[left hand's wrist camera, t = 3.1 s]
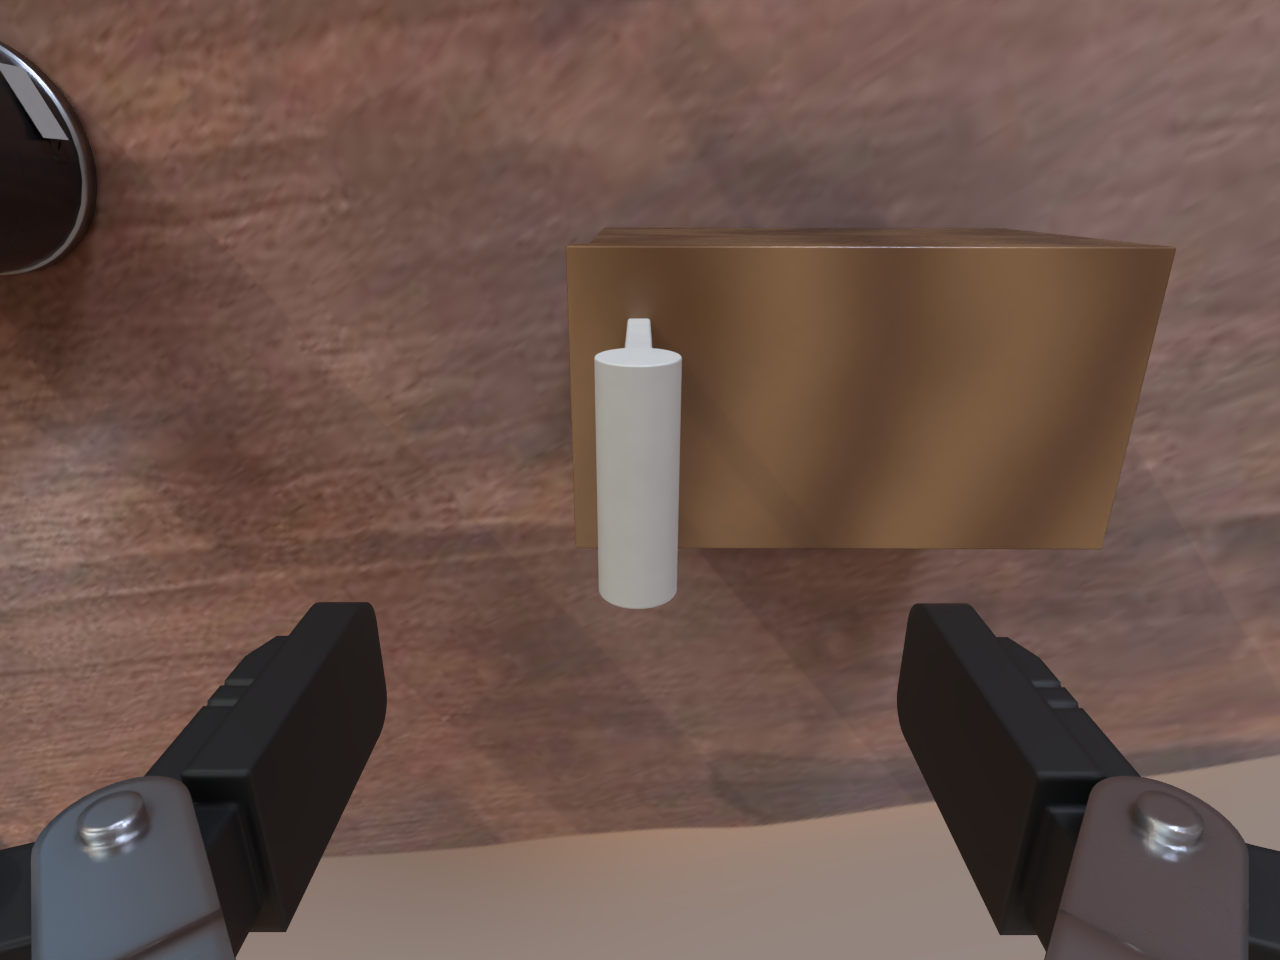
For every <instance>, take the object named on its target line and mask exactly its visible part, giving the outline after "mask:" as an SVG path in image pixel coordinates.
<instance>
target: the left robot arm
mask: <svg viewBox="0 0 1280 960" xmlns="http://www.w3.org/2000/svg"><path fill="white" fill-rule="evenodd" d="M96 194H97V180H96V170H95V163H94V159H93V155H92V151H91V148H90V145H89V141H88V139H87V136H86V134H85V131H84V129H83V127H82V125H81V123H80V121H79V119H78V117H77V115H76V113H75V112H74V110H73V108H72V107H71V105H70V104H69V102H68V101H67V99H66V98H65V97H64V95H63V94H62V92H61V91H60V90H59V89H58V88H57V86H56V85H55V84H54V83H53V82H52V81H51V80H50V78H49V77H48V76H47V75H46V74H45V73H44V72H43V71H42V70H40V69H39V68H38V67H37V66H36V65H35V64H34V63H33V62H31V61H30V60H29V59H27V58H26V57H25V56H23V55H22V54H21V53H19V52H18V51H16V50H15V49H13V48H11V47H10V46H8V45H6V44H4V43H2V42H1V41H0V275H10V274H19V273H26V272H32V271H37V270H40V269H43V268H46V267H49V266H51V265H53V264H55V263H57V262H59V261H60V260H62V259H63V258H65V257H66V256H67V255H68V254H70V253H71V252H72V251H73V250H74V249H75V248H76V246H77V245H78V244H79V243H80V241H81V240H82V239H83V237H84V235H85V233H86V232H87V230H88V228H89V225H90V223H91V220H92V217H93V213H94V210H95V203H96ZM1060 683H1061V682H1060V681H1059V680H1058V679H1057V678H1056V677H1055V675H1054V674H1053V673H1052V672H1051V671H1050V670H1049V668H1048V667H1047V666H1046V665H1045V664H1044V663H1043V661H1042V660H1041V659H1040V658H1039V657H1037V656H1036V655H1034V654H1033V653H1031V652H1030V651H1028V650H1026V649H1025V648H1023V647H1022V646H1020V645H1019V644H1017V643H1016V642H1014V641H1013V640H1011V639H1009V638H1008V637H996V636H995V635H994V634H993V633H992V631H991V630H990V629H989V628H988V626H987V625H986V624H985V623H984V621H983V620H982V619H981V617H980V616H979V615H978V614H977V612H976V611H975V610H974V609H973V608H972V607H971V606H970V605H969V604H915V605H914V606H913V607H912V608H911V611H910V613H909V617H908V623H907V630H906V636H905V643H904V650H903V657H902V663H901V670H900V677H899V684H898V691H897V709H898V717H899V722H900V726H901V729H902V732H903V735H904V737H905V739H906V741H907V743H908V745H909V748H910V750H911V752H912V754H913V756H914V758H915V760H916V762H917V764H918V766H919V768H920V770H921V772H922V774H923V777H924V779H925V781H926V783H927V785H928V787H929V789H930V791H931V793H932V795H933V797H934V799H935V801H936V803H937V806H938V808H939V810H940V812H941V814H942V816H943V818H944V820H945V822H946V824H947V826H948V828H949V830H950V832H951V835H952V837H953V839H954V841H955V843H956V845H957V847H958V849H959V851H960V853H961V855H962V857H963V859H964V861H965V863H966V866H967V868H968V870H969V872H970V874H971V876H972V878H973V880H974V882H975V884H976V886H977V888H978V890H979V892H980V895H981V897H982V899H983V901H984V903H985V905H986V907H987V909H988V911H989V913H990V915H991V917H992V919H993V922H994V924H995V926H996V928H997V930H998V932H999V934H1000V935H1038V937H1039V939H1040V941H1041V943H1042V945H1043V947H1044V948H1045V951H1046V955H1045V959H1044V960H1280V851H1276V850H1272V849H1267V848H1263V847H1259V846H1254V845H1251V844H1247V843H1245V842H1244V839H1243V838H1242V836H1241V835H1240V833H1239V832H1238V831H1237V829H1236V828H1235V827H1234V826H1233V825H1232V824H1231V823H1230V822H1229V821H1228V820H1227V819H1226V818H1225V817H1224V816H1223V815H1222V814H1221V813H1219V812H1218V811H1217V810H1215V809H1214V808H1213V807H1211V806H1210V805H1209V804H1207V803H1205V802H1204V801H1202V800H1201V799H1199V798H1197V797H1196V796H1194V795H1192V794H1190V793H1188V792H1186V791H1184V790H1182V789H1179V788H1177V787H1174V786H1172V785H1169V784H1166V783H1163V782H1160V781H1157V780H1153V779H1148V778H1144V777H1141V776H1140V775H1139V774H1138V773H1137V772H1136V770H1135V769H1134V768H1133V767H1132V766H1131V765H1130V763H1129V762H1128V761H1127V760H1126V759H1125V758H1124V756H1123V755H1122V754H1121V753H1120V752H1119V750H1118V749H1117V748H1116V747H1115V746H1114V745H1113V743H1112V742H1111V741H1110V740H1109V739H1108V738H1107V736H1106V735H1105V734H1104V733H1103V732H1102V731H1101V729H1100V728H1099V727H1098V726H1097V725H1096V724H1095V722H1094V721H1093V720H1092V719H1091V718H1090V716H1089V715H1088V714H1087V713H1086V712H1085V711H1084V709H1083V708H1078V702H1077V701H1076V700H1075V699H1074V698H1073V697H1072V695H1071V694H1070V693H1069V692H1068V691H1067V690H1066V688H1065V687H1061V685H1060ZM386 705H387V691H386V683H385V676H384V669H383V662H382V656H381V649H380V642H379V635H378V628H377V621H376V616H375V612H374V609H373V607H372V605H371V604H370V603H368V602H318V603H315V604H314V605H313V606H312V607H311V608H310V609H309V611H308V612H307V613H306V614H305V616H304V617H303V618H302V619H301V621H300V622H299V623H298V625H297V626H296V627H295V628H294V630H293V631H292V632H291V633H290V635H289V636H276V637H274V638H273V639H271V640H270V641H268V642H267V643H265V644H264V645H262V646H261V647H259V648H258V649H256V650H254V651H253V652H251V653H250V654H248V655H247V656H245V657H244V659H243V660H242V661H241V662H240V663H239V664H238V666H237V667H236V668H235V669H234V670H233V672H232V673H231V674H230V675H229V676H228V677H227V679H226V680H225V684H224V686H220V687H219V688H218V689H217V690H216V692H215V693H214V694H213V695H212V696H211V698H210V699H209V700H208V704H207V706H203V707H202V708H201V709H200V711H199V712H198V713H197V714H196V715H195V717H194V718H193V719H192V720H191V721H190V722H189V724H188V725H187V726H186V727H185V728H184V730H183V731H182V732H181V733H180V734H179V735H178V737H177V738H176V739H175V740H174V741H173V743H172V744H171V745H170V746H169V747H168V748H167V750H166V751H165V752H164V753H163V754H162V756H161V757H160V758H159V759H158V760H157V762H156V763H155V764H154V765H153V766H152V767H151V769H150V770H149V771H148V772H147V773H146V775H145V776H144V777H136V778H131V779H127V780H123V781H120V782H117V783H114V784H111V785H108V786H106V787H103V788H101V789H98V790H96V791H94V792H92V793H90V794H88V795H86V796H84V797H83V798H81V799H79V800H78V801H76V802H75V803H73V804H71V805H70V806H69V807H67V808H66V809H65V810H63V811H62V812H61V813H59V814H58V815H57V816H56V817H55V818H54V819H53V820H52V821H50V823H49V824H48V825H47V826H46V827H45V828H44V829H43V831H42V832H41V833H40V835H39V836H38V838H37V839H36V842H33V843H29V844H25V845H20V846H16V847H12V848H7V849H3V850H0V960H236V959H235V958H236V956H237V954H238V952H239V950H240V948H241V946H242V944H243V942H244V940H245V939H246V937H247V935H248V933H249V932H286V931H287V928H288V926H289V924H290V922H291V920H292V918H293V916H294V914H295V912H296V910H297V907H298V905H299V903H300V901H301V899H302V897H303V895H304V893H305V891H306V889H307V886H308V884H309V882H310V880H311V878H312V876H313V874H314V872H315V870H316V868H317V866H318V863H319V861H320V859H321V857H322V855H323V853H324V851H325V849H326V847H327V845H328V842H329V840H330V838H331V836H332V834H333V832H334V830H335V828H336V826H337V824H338V822H339V819H340V817H341V815H342V813H343V811H344V809H345V807H346V805H347V803H348V801H349V798H350V796H351V794H352V792H353V790H354V788H355V786H356V784H357V782H358V780H359V777H360V775H361V773H362V771H363V769H364V767H365V765H366V763H367V761H368V759H369V757H370V754H371V752H372V750H373V748H374V746H375V744H376V742H377V740H378V738H379V736H380V733H381V731H382V728H383V724H384V720H385V714H386Z"/></svg>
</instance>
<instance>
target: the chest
mask: <svg viewBox="0 0 1280 960" xmlns="http://www.w3.org/2000/svg"><path fill="white" fill-rule="evenodd" d="M590 244H966V245H1150V244H1141V243H1132V242H1122V241H1113V240H1104V239H1095V238H1086V237H1077V236H1067V235H1058V234H1049V233H1040V232H1031V231H1022V230H1012V229H897V228H604V229H603V230H602V231H601V232H600V233H599V234H598V235H597V236H596V238H595V239H594V240H593V241H592V242H591V243H590Z"/></svg>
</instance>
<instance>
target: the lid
mask: <svg viewBox="0 0 1280 960" xmlns="http://www.w3.org/2000/svg"><path fill="white" fill-rule="evenodd" d="M1175 251H1176V248H1175V247H1169V246H1160V245H966V244H569V245H568V246H566V265H567V296H568V327H569V358H570V389H571V421H572V452H573V483H574V514H575V545H576V548H598V566H599V592H600V594H601V596H602V597H603V599H605V600H606V601H607V602H609V603H611V604H613V605H615V606H618V607H622V608H628V609H648V608H653V607H657V606H660V605H663V604H665V603H667V602H669V601H670V600H671V599H672V598H673V597H674V596H675V594H676V591H677V557H678V548H820V549H1102V545H1103V541H1104V537H1105V533H1106V529H1107V525H1108V521H1109V517H1110V513H1111V509H1112V505H1113V501H1114V497H1115V493H1116V489H1117V485H1118V481H1119V477H1120V473H1121V469H1122V465H1123V461H1124V457H1125V453H1126V449H1127V445H1128V441H1129V437H1130V432H1131V428H1132V424H1133V420H1134V416H1135V412H1136V408H1137V404H1138V400H1139V396H1140V392H1141V388H1142V384H1143V380H1144V376H1145V372H1146V368H1147V364H1148V360H1149V356H1150V352H1151V348H1152V344H1153V340H1154V336H1155V332H1156V328H1157V324H1158V320H1159V316H1160V312H1161V308H1162V303H1163V299H1164V295H1165V291H1166V287H1167V283H1168V279H1169V275H1170V271H1171V267H1172V263H1173V259H1174V255H1175Z"/></svg>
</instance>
